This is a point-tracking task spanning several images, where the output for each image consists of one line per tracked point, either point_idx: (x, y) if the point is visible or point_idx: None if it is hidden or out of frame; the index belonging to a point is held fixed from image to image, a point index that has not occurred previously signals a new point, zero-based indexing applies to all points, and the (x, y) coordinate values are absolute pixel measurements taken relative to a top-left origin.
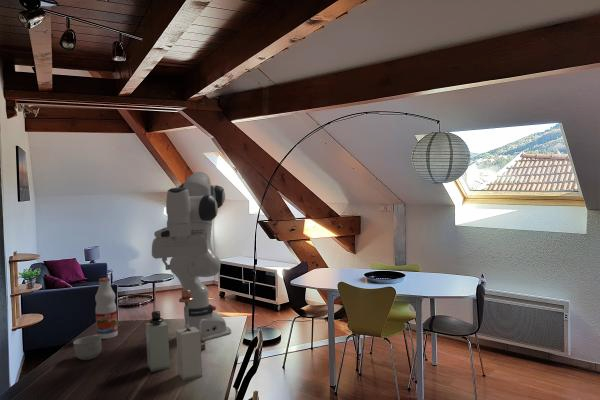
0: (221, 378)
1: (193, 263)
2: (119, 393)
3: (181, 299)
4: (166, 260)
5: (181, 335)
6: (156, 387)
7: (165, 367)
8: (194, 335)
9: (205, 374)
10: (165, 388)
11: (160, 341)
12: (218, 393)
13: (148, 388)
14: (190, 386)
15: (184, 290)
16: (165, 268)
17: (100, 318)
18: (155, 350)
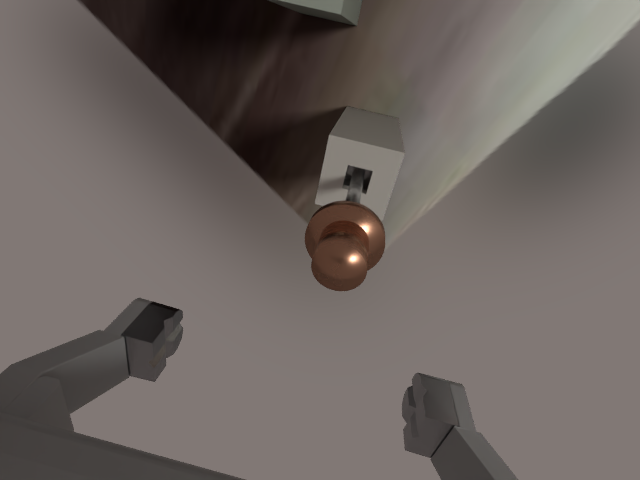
0: (408, 211)
1: (422, 445)
2: (192, 105)
3: (314, 241)
4: (68, 428)
5: (316, 202)
6: (271, 140)
7: (342, 22)
8: None
9: None
10: (285, 162)
11: (316, 12)
12: None
13: (255, 131)
14: None
15: (332, 263)
16: (133, 303)
17: None
18: (301, 10)
